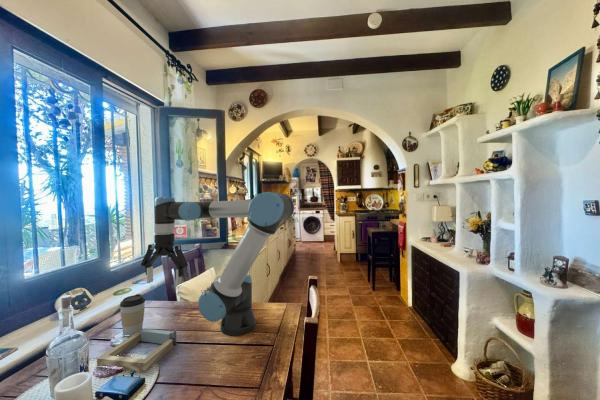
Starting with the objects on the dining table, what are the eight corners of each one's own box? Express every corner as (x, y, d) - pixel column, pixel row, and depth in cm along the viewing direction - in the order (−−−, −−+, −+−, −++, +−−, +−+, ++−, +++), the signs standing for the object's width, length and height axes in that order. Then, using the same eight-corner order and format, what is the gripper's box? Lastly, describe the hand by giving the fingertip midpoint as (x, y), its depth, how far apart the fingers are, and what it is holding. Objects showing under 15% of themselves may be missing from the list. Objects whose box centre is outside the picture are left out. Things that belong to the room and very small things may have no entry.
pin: (177, 343, 98) (177, 330, 98) (174, 345, 96) (174, 332, 96) (173, 343, 98) (173, 330, 98) (170, 345, 96) (170, 332, 97)
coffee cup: (132, 339, 101) (132, 301, 101) (114, 336, 103) (114, 300, 103) (150, 328, 110) (150, 293, 110) (132, 326, 112) (132, 292, 112)
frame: (178, 343, 98) (178, 335, 98) (145, 372, 81) (145, 363, 81) (137, 339, 101) (137, 332, 101) (96, 367, 84) (96, 358, 84)
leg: (172, 342, 98) (172, 331, 98) (168, 344, 97) (168, 334, 97) (144, 338, 101) (144, 328, 101) (140, 341, 99) (140, 330, 99)
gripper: (196, 232, 108) (196, 282, 108) (145, 231, 112) (144, 279, 112) (186, 235, 101) (185, 288, 101) (131, 233, 104) (131, 284, 104)
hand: (164, 283), depth 106 cm, fingers open, 13 cm apart
